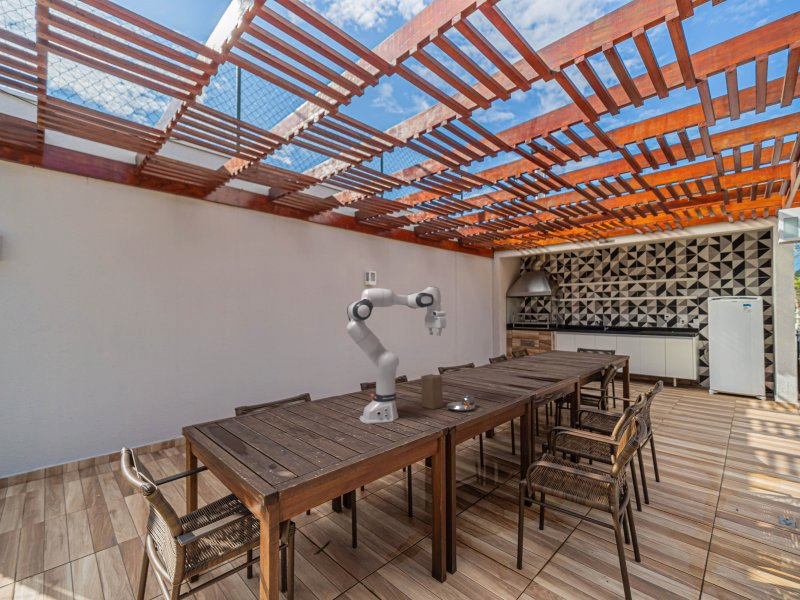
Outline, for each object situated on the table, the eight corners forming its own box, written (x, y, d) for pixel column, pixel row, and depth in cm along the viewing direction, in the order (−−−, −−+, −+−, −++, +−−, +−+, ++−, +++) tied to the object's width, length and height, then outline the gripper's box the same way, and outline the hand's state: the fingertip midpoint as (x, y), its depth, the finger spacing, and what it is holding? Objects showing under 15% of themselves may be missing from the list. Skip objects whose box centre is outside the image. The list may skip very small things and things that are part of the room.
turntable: (455, 413, 212) (455, 403, 213) (442, 407, 228) (442, 397, 229) (480, 410, 219) (480, 400, 219) (465, 403, 234) (465, 394, 235)
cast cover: (465, 405, 220) (465, 397, 220) (459, 402, 228) (458, 395, 228) (476, 404, 223) (476, 396, 223) (469, 401, 230) (469, 393, 231)
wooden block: (432, 410, 223) (431, 377, 223) (421, 407, 230) (420, 375, 231) (443, 407, 229) (442, 375, 230) (431, 404, 237) (430, 373, 237)
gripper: (421, 313, 230) (422, 334, 230) (438, 312, 212) (439, 336, 212) (430, 312, 233) (431, 334, 233) (447, 312, 215) (448, 335, 214)
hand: (435, 335), depth 222 cm, fingers open, 8 cm apart
